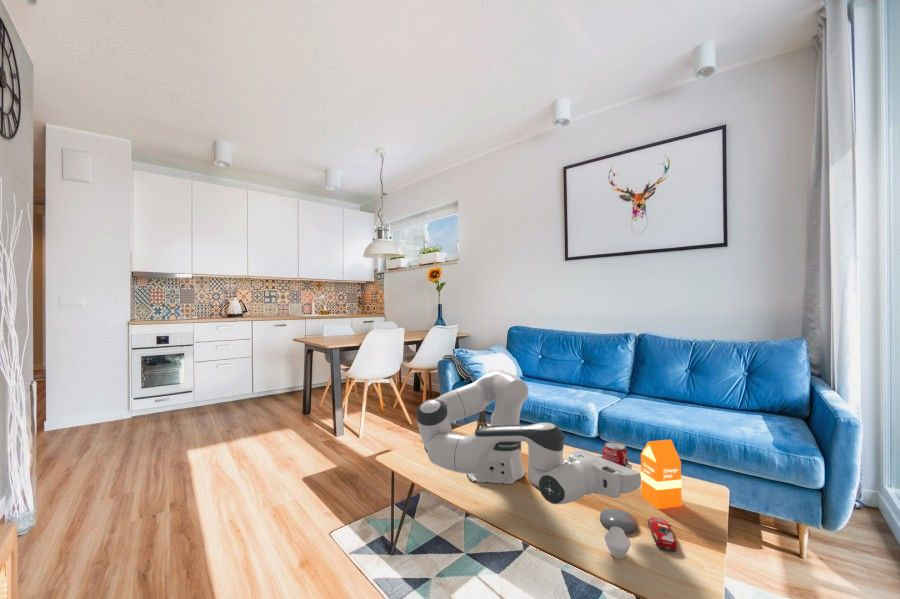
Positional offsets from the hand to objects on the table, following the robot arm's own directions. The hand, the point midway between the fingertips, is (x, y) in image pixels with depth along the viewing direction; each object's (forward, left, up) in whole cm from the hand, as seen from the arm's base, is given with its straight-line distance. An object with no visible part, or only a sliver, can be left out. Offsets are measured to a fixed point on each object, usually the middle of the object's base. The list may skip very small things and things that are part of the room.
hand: (618, 462), depth 111 cm
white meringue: (-8, -14, -18) cm, 24 cm away
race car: (+8, -7, -18) cm, 22 cm away
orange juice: (+19, +11, -18) cm, 28 cm away
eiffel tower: (-33, +67, -18) cm, 76 cm away
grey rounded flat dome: (-1, 0, -18) cm, 18 cm away
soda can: (-1, 0, -7) cm, 7 cm away
